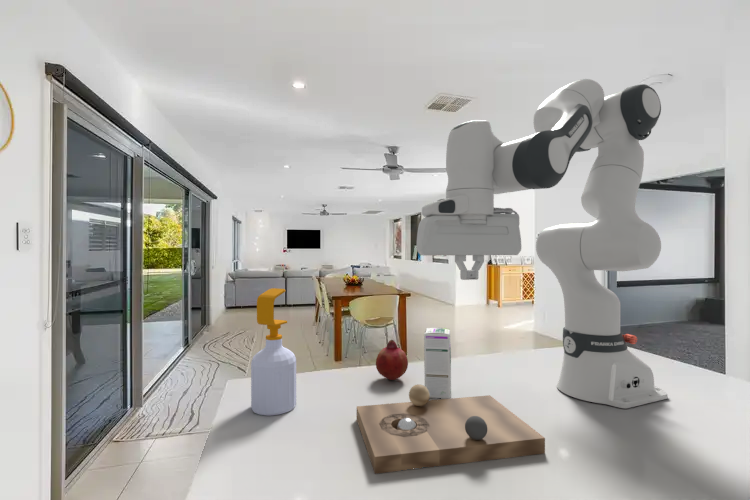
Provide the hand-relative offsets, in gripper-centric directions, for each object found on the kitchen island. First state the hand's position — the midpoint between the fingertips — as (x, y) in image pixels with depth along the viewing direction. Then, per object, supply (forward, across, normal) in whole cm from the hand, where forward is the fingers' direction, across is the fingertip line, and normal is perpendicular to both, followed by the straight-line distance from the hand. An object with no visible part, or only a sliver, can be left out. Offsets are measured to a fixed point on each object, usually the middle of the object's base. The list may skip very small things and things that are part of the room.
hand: (469, 279), depth 72 cm
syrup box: (+27, +1, -14) cm, 31 cm away
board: (+27, +7, +4) cm, 28 cm away
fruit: (+27, +9, -25) cm, 38 cm away
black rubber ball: (+23, +4, +11) cm, 26 cm away
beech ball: (+23, +9, -3) cm, 25 cm away
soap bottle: (+27, +37, -14) cm, 48 cm away
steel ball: (+25, +14, +4) cm, 29 cm away
